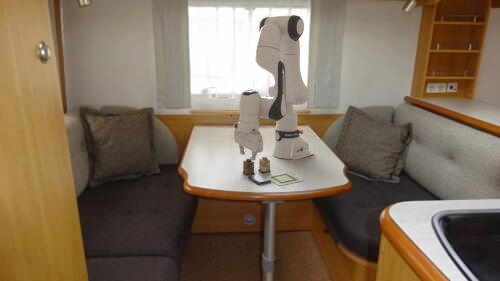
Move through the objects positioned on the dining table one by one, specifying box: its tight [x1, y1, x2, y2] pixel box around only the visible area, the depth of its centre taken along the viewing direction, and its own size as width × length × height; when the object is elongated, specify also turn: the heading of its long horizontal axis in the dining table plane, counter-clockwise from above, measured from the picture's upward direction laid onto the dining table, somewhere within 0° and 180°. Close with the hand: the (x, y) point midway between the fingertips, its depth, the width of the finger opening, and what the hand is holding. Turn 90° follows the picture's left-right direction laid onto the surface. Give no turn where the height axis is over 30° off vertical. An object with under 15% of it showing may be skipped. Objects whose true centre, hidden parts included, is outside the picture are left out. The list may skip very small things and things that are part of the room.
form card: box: [264, 171, 305, 187], centre depth 162 cm, size 13×12×1 cm
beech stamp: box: [258, 156, 271, 175], centre depth 169 cm, size 4×4×7 cm
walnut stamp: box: [242, 158, 256, 177], centre depth 166 cm, size 4×4×7 cm
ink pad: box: [247, 173, 272, 186], centre depth 159 cm, size 6×9×1 cm, turn 30°
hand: (247, 157), depth 165 cm, fingers open, 8 cm apart
